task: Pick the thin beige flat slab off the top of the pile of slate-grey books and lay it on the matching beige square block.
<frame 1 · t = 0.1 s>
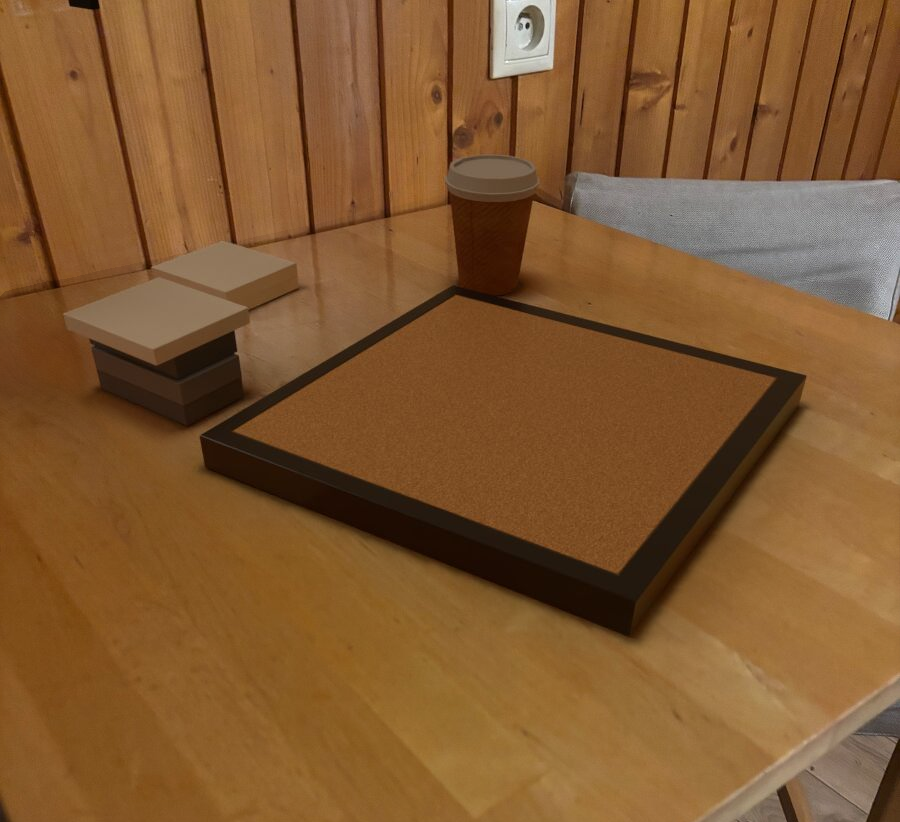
hand: (6, 19, 68), 27 cm above the table, tool pointing down, fingers open, 13 cm apart
beige square block: (228, 290, 99), on the table
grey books: (172, 392, 81), on the table
disposable coffee cup: (488, 286, 101), on the table
beige flat slab: (159, 326, 77), point 6 cm above the table, touching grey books
cork board: (518, 437, 76), on the table
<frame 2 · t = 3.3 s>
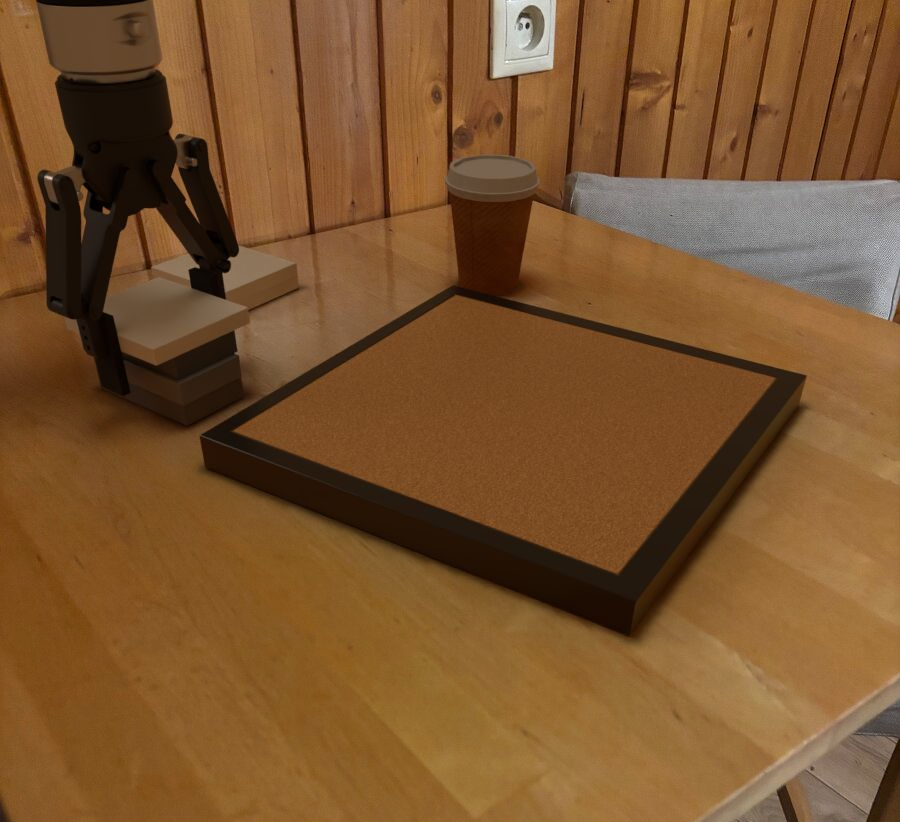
hand: (167, 366, 80), 2 cm above the table, tool pointing down, fingers closed on beige flat slab, 10 cm apart
beige flat slab: (159, 326, 77), point 6 cm above the table, touching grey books, gripper
everything else where it was.
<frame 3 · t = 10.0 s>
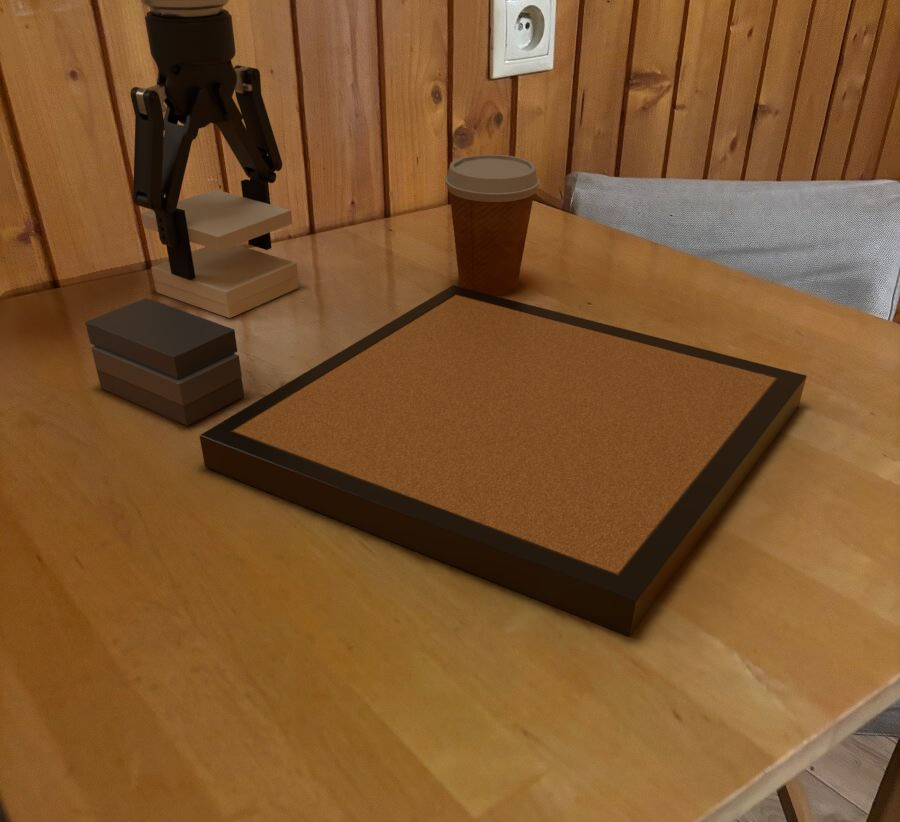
hand: (223, 260, 97), 3 cm above the table, tool pointing down, fingers closed on beige flat slab, 10 cm apart
beige flat slab: (218, 225, 95), point 7 cm above the table, touching gripper
everything else where it was.
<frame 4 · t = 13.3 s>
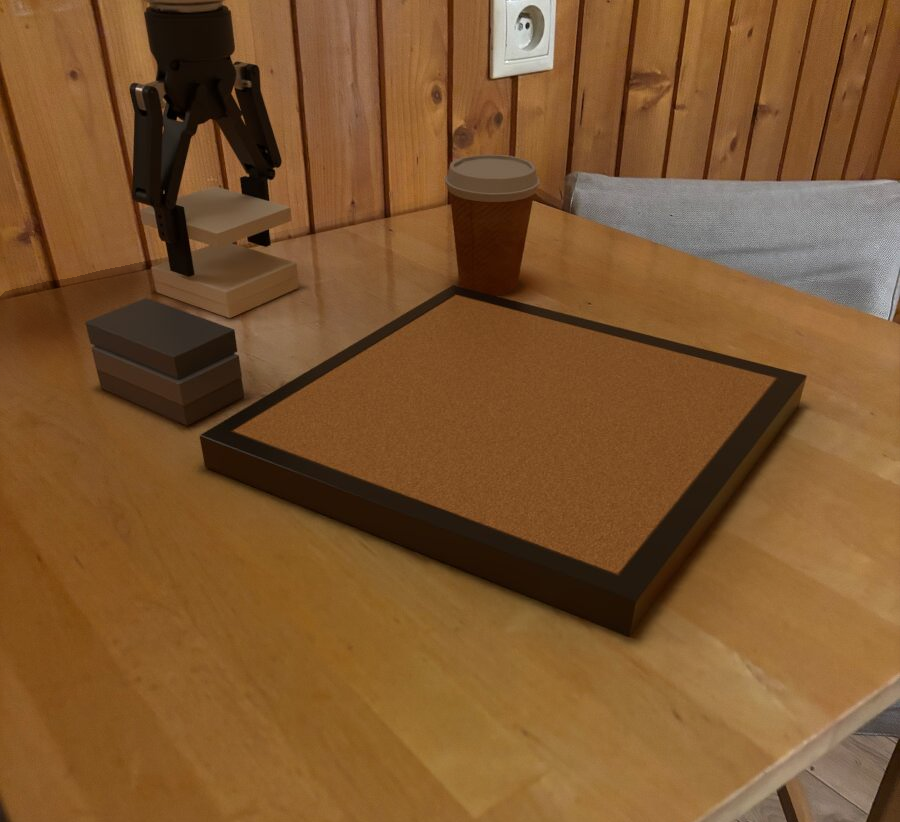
hand: (222, 257, 97), 3 cm above the table, tool pointing down, fingers closed on beige flat slab, 10 cm apart
beige flat slab: (217, 222, 94), point 7 cm above the table, touching gripper
everything else where it was.
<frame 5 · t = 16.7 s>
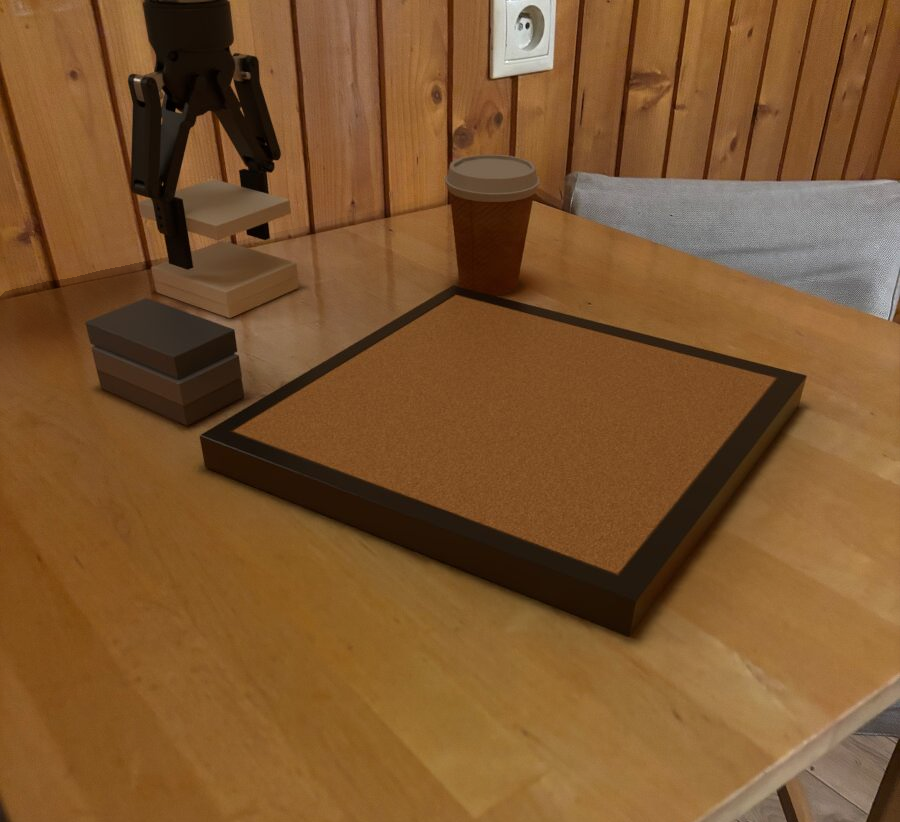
hand: (221, 250, 96), 4 cm above the table, tool pointing down, fingers closed on beige flat slab, 10 cm apart
beige flat slab: (216, 215, 94), point 8 cm above the table, touching gripper
everything else where it was.
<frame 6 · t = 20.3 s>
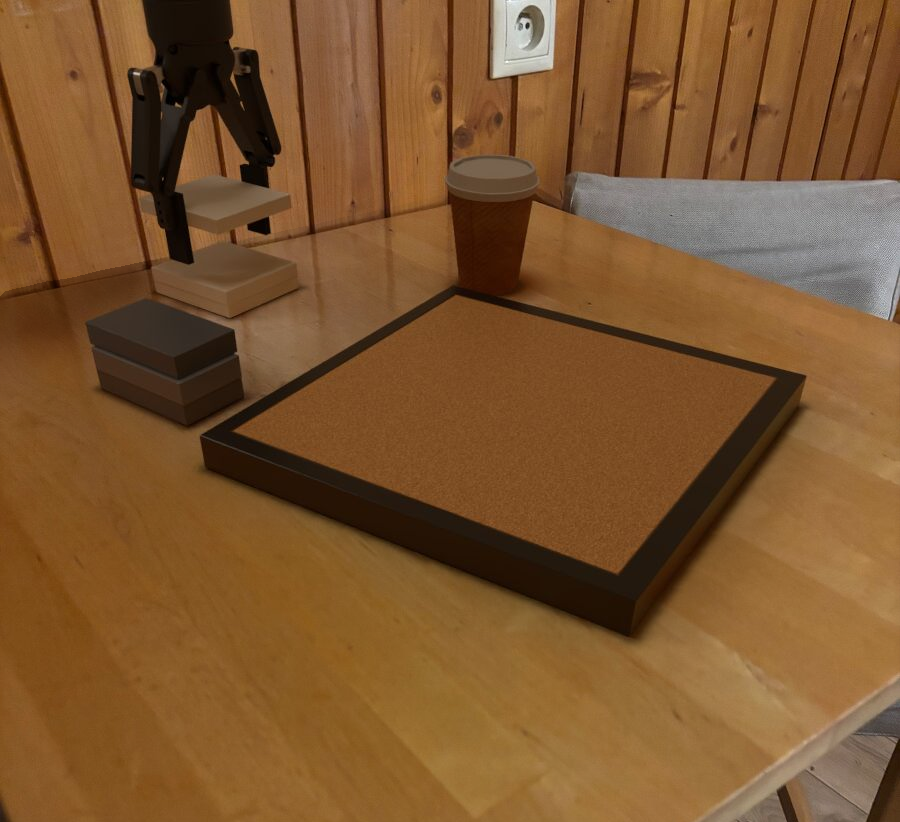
hand: (221, 245, 96), 5 cm above the table, tool pointing down, fingers closed on beige flat slab, 10 cm apart
beige flat slab: (217, 210, 94), point 8 cm above the table, touching gripper
everything else where it was.
when the fingers open (5 cm above the table, at t = 23.2 s): beige flat slab drops 5 cm, resting on beige square block.
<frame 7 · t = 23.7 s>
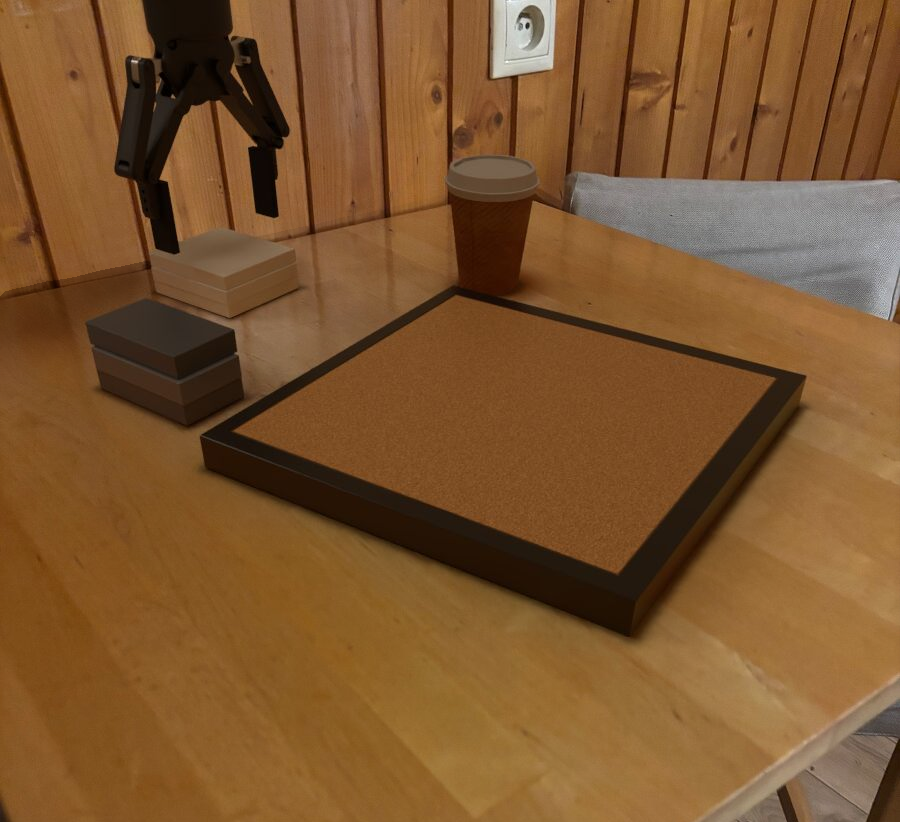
hand: (219, 232, 95), 6 cm above the table, tool pointing down, fingers open, 13 cm apart
beige flat slab: (224, 263, 97), point 3 cm above the table, touching beige square block
everything else where it was.
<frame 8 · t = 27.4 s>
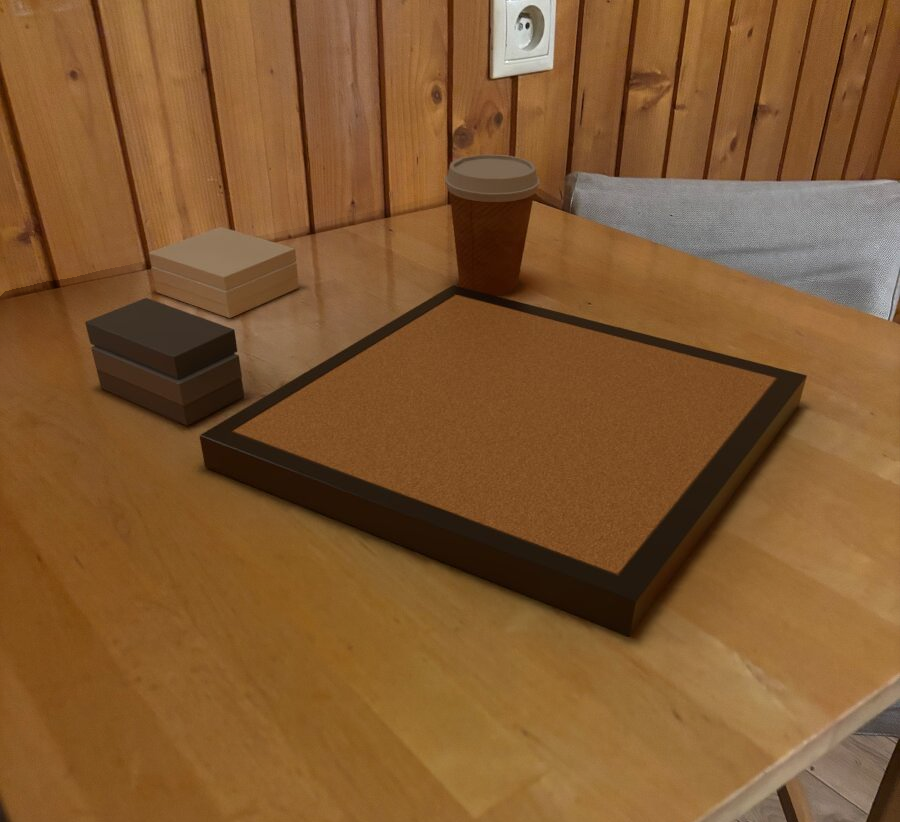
nothing on the table moved.
at the end: beige flat slab 0.0 cm off-centre on the beige square block, point 2.8 cm above the beige square block's base; beige flat slab tilted 0° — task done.
